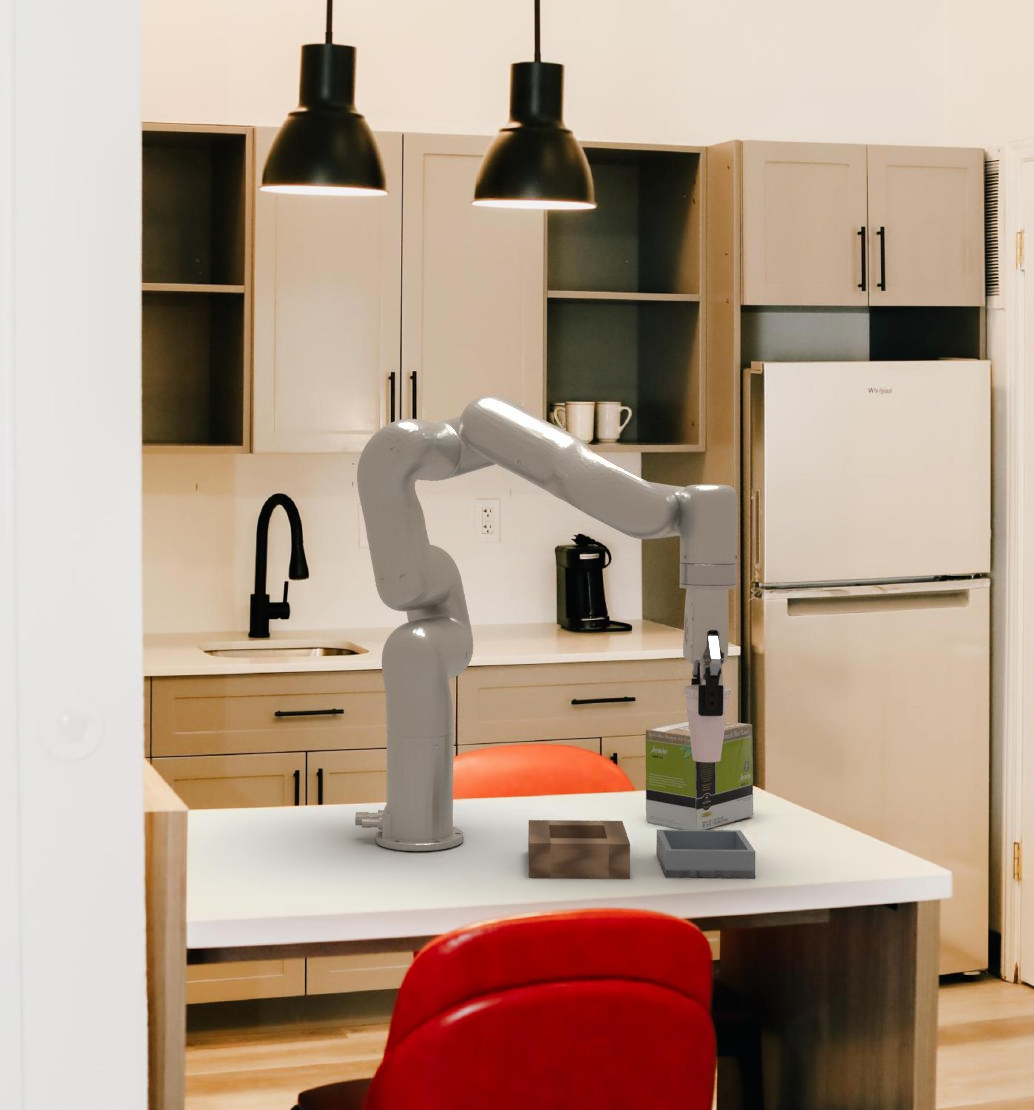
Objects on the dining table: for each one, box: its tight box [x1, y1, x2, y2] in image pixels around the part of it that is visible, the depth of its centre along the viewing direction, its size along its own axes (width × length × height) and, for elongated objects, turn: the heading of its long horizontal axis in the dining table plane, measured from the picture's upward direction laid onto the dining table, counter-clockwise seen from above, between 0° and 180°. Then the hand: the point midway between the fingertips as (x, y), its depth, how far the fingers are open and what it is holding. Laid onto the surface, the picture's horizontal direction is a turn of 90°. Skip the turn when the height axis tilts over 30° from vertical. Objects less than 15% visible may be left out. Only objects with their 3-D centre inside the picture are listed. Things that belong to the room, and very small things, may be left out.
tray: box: [655, 829, 756, 879], centre depth 180 cm, size 12×12×4 cm
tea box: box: [645, 720, 754, 830], centre depth 207 cm, size 15×10×15 cm
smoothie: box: [682, 684, 732, 762], centre depth 179 cm, size 6×6×14 cm
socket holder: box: [527, 819, 631, 880], centre depth 180 cm, size 13×13×4 cm
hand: (706, 710), depth 179 cm, fingers closed on smoothie, 6 cm apart
